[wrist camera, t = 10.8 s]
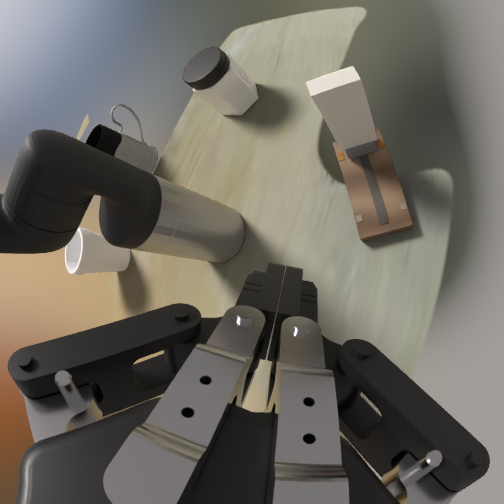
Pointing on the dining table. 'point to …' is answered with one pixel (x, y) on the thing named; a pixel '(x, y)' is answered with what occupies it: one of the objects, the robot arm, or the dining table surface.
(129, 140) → the glass holder
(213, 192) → the dining table surface
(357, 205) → the slider board
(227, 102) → the jar
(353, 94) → the white grey block
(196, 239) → the robot arm
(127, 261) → the foam cup
